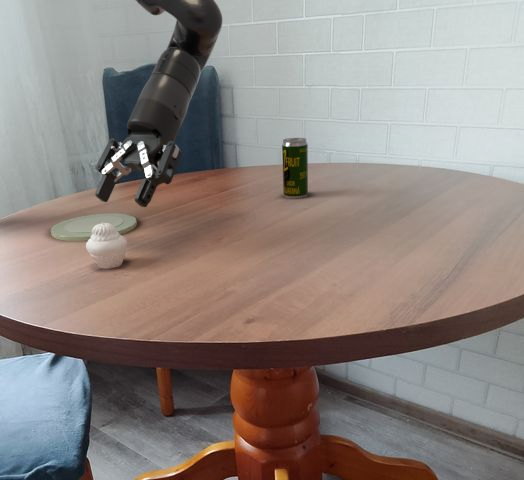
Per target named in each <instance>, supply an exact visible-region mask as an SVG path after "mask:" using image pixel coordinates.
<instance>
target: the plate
mask: <svg viewBox="0 0 524 480" xmlns="http://www.w3.org/2000/svg"><path fill="white" fill-rule="evenodd" d="M102 222H103V223H110V224H112V225H114V226H115V227H116V231H117V232H118V233H119V234H120V235H123V234H126V233H128V232H131V231H132V230H134V229H135V228H136V227H137V225H138V222H137V218H136V217H135V216H132V215H129V214H124V213H111V212H109V213H96V214H86V215H82V216H77V217H72V218H68V219H65V220H63V221H60V222H57V223H56V224H55V225H52V227H51V228H50V233H51V234H50V235H51V236H52V237H53V238H55V239H57V240H60V241H69V242H85V241H86V242H88V240H89V239H90V238H91V235H92V234H93V233H92V229H93V227H94V226H96V225H97V224H101V223H102Z"/></svg>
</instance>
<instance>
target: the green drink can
mask: <svg viewBox="0 0 524 480" xmlns="http://www.w3.org/2000/svg"><path fill="white" fill-rule="evenodd" d="M308 149H309V146H308V142H307V138H305V137H289V138H283V139H282V144H281V154H282V157H281V158H282V189H283V192H282V193H283V196H284V198H286V199H293V200H294V199H297V200H298V199H304V198H306V197H307V196H308V194H309V168H308V167H309V157H308V155H309V154H308V153H309V151H308Z"/></svg>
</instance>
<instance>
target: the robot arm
mask: <svg viewBox="0 0 524 480" xmlns="http://www.w3.org/2000/svg"><path fill="white" fill-rule="evenodd" d="M135 1H136V3H138V4H139V5H140V7H141V8H143V9H144V10H145V11H146V12H147V13H149V14H150V15H152V16H160V15H162V14H163V13H165V12H166V13H168V14H169V15H171V16H172V17H173V18H175V20H176V21H175V25H174V29H173V32H172V33H171V34H172V35H171V37H170V40H169V42H168V45H167V47H166V49H165V50H164V51H162V53H161V54H160V56H159V58H158V60H157V61H156V64H155V66H154V69H153V70H152V73H151V75H150V77H149V79H148V80H147V82H146V83H145V85H144V86H143V88H142V90H141V92H140V94H139V97H138V98H137V101H136V103H135V105H134V108H133V110H132V112H131V114H130V116H129V119H128V121H127V124H126V128H127V136H126V138H125V139H124V140H123V141H122V142H121V141H117V140H116V139H115V138H114V137H111V138H110V139H109V140H108V142H107V144H106V146H105V148H104V150H103V152H102V153H101V155H100V157H99V159H98V161H97V163H96V166H95V169H96V171H97V172H99V174H101V178H100V181H99V183H98V185H97V187H96V189H95V194H94V195H95V197H96V198H97V199H98V200H99V201H100V202H103V203H107V202H109V200H110V198H111V195H112V193H113V192H114V189H115V186H116V184H117V183H116V182H117V181H118V180H120V179H121V178H122V177H123V176H128V175H130V174H131V172H139V171H140V172H142V173H144V175H145V176H144V177H145V178H143V179H142V180H141V182H140V184H139V187H138V190H137V192H136V194H135V197H134V201H135V203H136V204H137V205H138V206H140V207H141V208H147V207H148V205H149V204H150V203H151V201H152V199H153V197H154V194H155V193H156V190H157V188H159V187H160V186H161V185H162V184H165V185H170V184H171V183H172V181H173V178H174V176H175V173H176V171H177V169H178V165H179V162H180V160H181V157H182V154H183V151H182V150H181V149H180V148H179V146H178V145H177V144H176V143H175V141H176V139H177V136H178V133H179V131H180V129H181V127H182V124H183V122H184V120H185V118H186V116H187V115H186V114H187V113H188V109H189V105H190V102H191V100H192V98H193V96H194V94H195V90H196V89H197V87H198V83H199V80H200V78H201V74H202V72H203V70H204V68H206V65H207V63H208V62H209V59H210V57H211V55H212V53H213V50H214V49H215V46H216V44H217V40H218V38H219V35H220V34H221V31H222V27H223V14H222V11H221V8H220V7H219V5H218V4H217V1H215V0H135ZM120 161H122V162H123V164H124V165H123V164H122V163H121V162H120ZM107 163H108V164H107ZM106 164H107V165H106ZM105 165H106V166H105ZM115 169H117V170H116V171H115V172H114V170H115Z"/></svg>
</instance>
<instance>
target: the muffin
mask: <svg viewBox="0 0 524 480" xmlns="http://www.w3.org/2000/svg"><path fill="white" fill-rule="evenodd" d="M92 233H93V234H92V235H91V238H90V239H89V240H87V241H86V243H85V249H86V250H87V252H88V253H89V257H91V259H93V261H94V262H95V263H96V265H97V266H98V267H99V268H101V269H106V270H109V269H114V268H118V267H120V266H122V265H123V262H124V259H125V256H126V253H127V247H128V240H127V238H125V236H123V235H122V234H119V233H118V232H117V231H116V227H115V226H114V225H112V224H110V223H103V222H102V223H101V224H97V225H96V226H94V227H93V229H92Z"/></svg>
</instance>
